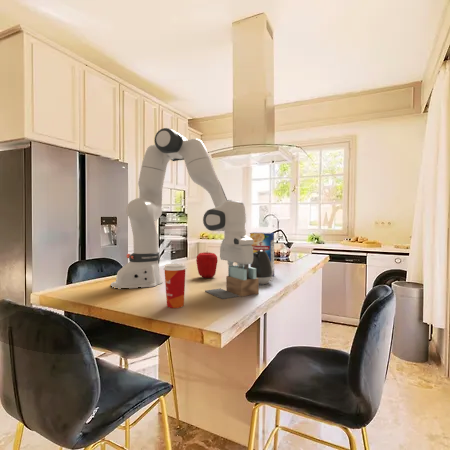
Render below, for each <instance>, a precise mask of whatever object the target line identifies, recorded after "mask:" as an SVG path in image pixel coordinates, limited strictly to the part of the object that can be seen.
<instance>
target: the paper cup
mask: <svg viewBox="0 0 450 450" xmlns="http://www.w3.org/2000/svg"><path fill="white" fill-rule="evenodd" d="M186 270H187V267H186V264H185V263H167V264H165V265H164V267H163V271H164V283H165V294H166V307H167V308H169V307H170V308H169V309H178V308H183V307H184V304H185V289H186V287H185V285H186Z"/></svg>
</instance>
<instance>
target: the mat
mask: <svg viewBox="0 0 450 450" xmlns="http://www.w3.org/2000/svg"><path fill="white" fill-rule="evenodd" d="M204 292H205V293H207V294H209V295H212V296H214V297H216V298H219V299H222V300H226V299H233V298H238V297H240V296H239V295H237V294H234V293H231V292H228V291H227V289H226V290H225V289H223V288H213V289H207V290H206V289H205V290H204Z"/></svg>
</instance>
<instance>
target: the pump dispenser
mask: <svg viewBox="0 0 450 450" xmlns="http://www.w3.org/2000/svg"><path fill="white" fill-rule="evenodd" d="M253 256H254V257H253V262H252V264H251V267H252V268H256V278H258V285H267V284H268V283H270V282H271V280H272V277H273V276H272V267H271V263H270V260H269V257H268V255H267V253H266V252H265V251H263V250H258V251H257V252H256V253H253Z"/></svg>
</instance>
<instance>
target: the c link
mask: <svg viewBox="0 0 450 450" xmlns="http://www.w3.org/2000/svg"><path fill="white" fill-rule="evenodd" d="M227 266H228V265H227ZM227 268H228V271H227V272H228V275H227V276H230V277H234V278H237V279H241V280H247V270H246V269H244V266H243V268H238V265H237V264H236V265H233V266H228V267H227ZM249 278H251V279H256V268H252V267H250V266H249Z"/></svg>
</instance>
